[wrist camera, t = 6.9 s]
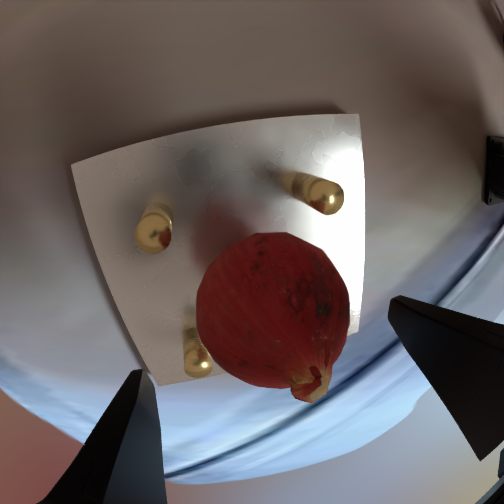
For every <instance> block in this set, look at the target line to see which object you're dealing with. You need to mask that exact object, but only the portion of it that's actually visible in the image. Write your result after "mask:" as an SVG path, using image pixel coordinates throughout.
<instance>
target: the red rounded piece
mask: <svg viewBox="0 0 504 504" xmlns="http://www.w3.org/2000/svg"><path fill="white" fill-rule="evenodd" d="M349 325H350V300H349V292H348V289H347V287H346V284H345V282H344V280H343V278H342V277H341V275H340V274H339V272H338V270H337V269H336V267H335V266H334V264H333V263H332V261H331V260H330V258H329V257H328V256H327V255H326V253H325V252H324V251H323V250H322V249H321V248H319V247H317V246H315V245H313V244H311V243H309V242H307V241H305V240H303V239H301V238H299V237H296V236H294V235H292V234H290V233H287V232H267V233H254V234H252V235H250V236H248V237H246V238H244V239H242V240H240V241H238V242H236V243H234V244H232V245H230V246H228V247H227V248H226V249H225V250H224V251H223V252H222V253H221V254H220V255H219V256H218V257H217V258H216V259H215V260H214V261H213V262H212V263H211V264H210V265H209V266H208V267H207V270H206V272H205V274H204V276H203V279H202V281H201V283H200V285H199V288H198V290H197V296H196V328H197V332H198V334H199V337H200V340H201V342H202V344H203V345H204V347H205V348H206V350H207V351H208V352H209V354H210V355H211V357H212V358H213V360H214V361H215V362H216V363H217V364H218V365H219V366H220V367H221V368H222V369H223V370H224V371H226V372H228V373H229V374H231V375H233V376H235V377H237V378H239V379H240V380H242V381H244V382H247V383H249V384H251V385H255V386H258V387H266V388H278V389H284V388H290V387H291V392H292V395H293V396H294V397H295V399H298V400H301V401H304V402H309V403H313V402H314V401H315V400H317V399H318V398H319V397H321V396H323V395H325V394H326V393H327V391H328V385H329V383H330V380H331V374H332V365H333V364H334V362H335V361H336V360H337V359H338V357H339V356H340V354H341V352H342V349H343V347H344V345H345V342H346V338H347V332H348V328H349Z"/></svg>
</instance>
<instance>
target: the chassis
mask: <svg viewBox="0 0 504 504" xmlns="http://www.w3.org/2000/svg"><path fill="white" fill-rule="evenodd" d="M71 168H72V173H73V177H74V181H75V185H76V189H77V193H78V197H79V201H80V205H81V208H82V212H83V215H84V218H85V222H86V225H87V228H88V231H89V234H90V238H91V241H92V244H93V246H94V249H95V252H96V255H97V258H98V261H99V263H100V266H101V269H102V271H103V274H104V276H105V279H106V281H107V284H108V286H109V289H110V291H111V294H112V296H113V298H114V301H115V303H116V305H117V307H118V310H119V312H120V314H121V316H122V318H123V321H124V323H125V325H126V327H127V329H128V331H129V333H130V335H131V337H132V339H133V341H134V343H135V345H136V347H137V349H138V351H139V353H140V355H141V356H142V358H143V360H144V362H145V364H146V366H147V367H148V369H149V371H150V373H151V374H152V376H153V378H154V380H155V381H156V383H157V385H158V386H163V385H169V384H175V383H180V382H185V381H191V380H196V379H201V378H205V377H210V376H215V375H219V374H223V373H228V372H226V371H224V370H223V369H222V368H221V367H220V366H219V365H218V364H217V363H216V362H215V361H214V360H213V358H212V357H211V355H210V354H209V352H208V351H207V350H206V348H205V347H204V345H203V344H202V342H201V340H200V337H199V334H198V332H197V328H196V296H197V290H198V288H199V285H200V283H201V281H202V279H203V276H204V274H205V272H206V270H207V267H208V266H209V265H210V264H211V263H212V262H213V261H214V260H215V259H216V258H217V257H218V256H219V255H220V254H221V253H222V252H223V251H224V250H225V249H226V248H227V247H228V246H230V245H232V244H234V243H236V242H238V241H240V240H242V239H244V238H246V237H248V236H250V235H252V234H254V233H267V232H287V233H290V234H292V235H294V236H296V237H299V238H301V239H303V240H305V241H307V242H309V243H311V244H313V245H315V246H317V247H319V248H321V249H322V250H323V251H324V252H325V253H326V255H327V256H328V257H329V258H330V260H331V261H332V263H333V264H334V266H335V267H336V269H337V270H338V272H339V274H340V275H341V277H342V278H343V280H344V282H345V284H346V287H347V289H348V292H349V300H350V325H349V328H348V332H347V336H348V335H350V334H353V333H356V332H358V327H359V318H360V308H361V297H362V284H363V267H364V241H365V196H364V169H363V153H362V140H361V129H360V120H359V114H320V115H302V116H288V117H277V118H267V119H258V120H250V121H242V122H235V123H229V124H222V125H216V126H211V127H205V128H200V129H195V130H190V131H185V132H180V133H176V134H171V135H167V136H163V137H159V138H154V139H151V140H147V141H143V142H139V143H136V144H132V145H128V146H125V147H122V148H118V149H115V150H112V151H109V152H106V153H102V154H99V155H96V156H93V157H91V158H88V159H85V160H82V161H79V162H77V163H74V164H71Z"/></svg>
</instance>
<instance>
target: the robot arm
mask: <svg viewBox="0 0 504 504" xmlns="http://www.w3.org/2000/svg"><path fill="white" fill-rule="evenodd" d="M501 202H504V138H499V137H493V136H488V138H487V183H486V197H485V203H486V204H487V205H489V206H490V205H494V204H497V203H501ZM388 320H389V322H390V324H391V325H392V327H393V329H394V330H395V332H396V334H397V335H398V337H399V339H400V340H401V342H402V344H403V346H404V347H405V349H406V350H407V352H408V353H409V355H410V356H411V357H412V359H413V360H414V362H415V363H416V364H417V366H418V367H419V368H420V370H421V371H422V373H423V374H424V375H425V377H426V378H427V380H428V381H429V383H430V384H431V385H432V387H433V388H434V390H435V391H436V393H437V394H438V396H439V397H440V399H441V400H442V401H443V403H444V405H445V406H446V407H447V409H448V410H449V412H450V413H451V415H452V417H453V418H454V420H455V421H456V423H457V425H458V426H459V428H460V430H461V431H462V433H463V434H464V436H465V438H466V439H467V441H468V443H469V444H470V446H471V447H472V449H473V451H474V453H475V454H476V456H477V458H478V459H479V460H480V461H481V460H482V459H484V458H485V457H486V456H487V455H488V454H490V453H491V452H492V451H493V450H494V449H495V448H496V447H497V446H498V445H499V444H500V443H501V442H502V441H503V440H504V325H503V324H498V323H494V322H491V321H487V320H483V319H480V318H478V319H477V317H473V316H470V315H466V314H463V313H460V312H456V311H453V310H449V309H446V308H442V307H439V306H436V305H432V304H429V303H425V302H422V301H419V300H415V299H412V298H408V297H405V296H402V295H399V296H396V297H394V298H392V299H391V300H390V305H389V311H388ZM84 444H85V445H83V446H82V448H81V449H80V451H79V453H78V454H77V456H76V457H75V459H74V460H73V462H72V463H71V465H70V466H69V467H68V469H67V470H66V471H65V473H64V474H63V475H62V477H61V478H60V479H59V481H58V482H57V483H56V484H55V486H54V487H53V488H52V490H51V491H50V492H49V494H48V495H47V496H46V497H45V498H44V499H43V500H42V501H40V502H39V503H37V504H167V497H166V489H165V480H164V469H163V457H162V442H161V427H160V420H159V414H158V408H157V401H156V394H155V388H154V385H153V383H152V381H151V380H150V378H149V376H148V374H147V373H146V371H145V370H144V369H137V370H133V371H131V373H130V374H129V376H128V377H127V379H126V380H125V382H124V383H123V385H122V386H121V388H120V389H119V391H118V392H117V394H116V395H115V397H114V398H113V400H112V401H111V403H110V404H109V406H108V407H107V409H106V410H105V412H104V413H103V415H102V416H101V418H100V420H99V421H98V423H97V424H96V426H95V427H94V429H93V430H92V432H91V434H90V435H89V437H88V438H87V440H86V442H85V443H84ZM498 477H499V478H500V479H499V481H498V482H497V483H496V484H495V485H494V486H493V487H492V488H491V489H490V490H489V491H488V492H487V493H486V494H485V495H484V496H483V497H482V498H481V499H480V500H479V501H477V502H476V503H475V504H504V448H503V449H502V451H501V452H500V462H499V470H498Z"/></svg>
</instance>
